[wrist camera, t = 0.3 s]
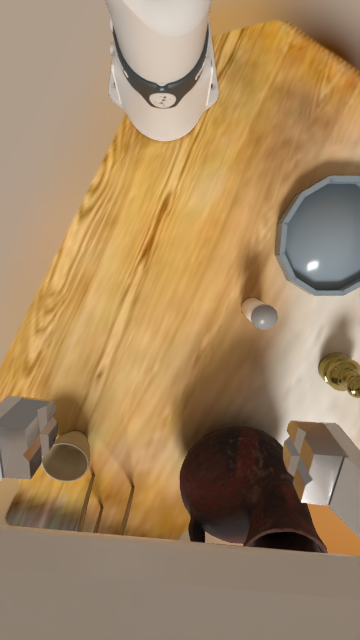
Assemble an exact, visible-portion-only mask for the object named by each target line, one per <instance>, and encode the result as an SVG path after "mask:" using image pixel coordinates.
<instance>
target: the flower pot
mask: <svg viewBox="0 0 360 640" xmlns="http://www.w3.org/2000/svg"><path fill="white" fill-rule="evenodd" d="M89 461H90V447H89V443H88V440H87V438H86V436H85V435H84V434H83V433H81V432H79V431H72V432H68V433H66V434H64V435H62V436H60V437H59V438H57V439H56V440H55V442H54V445H53V446H52V448H51V449H50V451H49V452H47V453H45V454H44V455H42V463H41V465H42V468H43V469H44V471H45V472H46V473H47V474H48V475H49V476H50V477H52V478H54V479H56V480H59V481H64V482H69V481H75V480H77V479H79V478H81V477H82V476H83V475H84V474H85V473H86V472H87V469H88V466H89Z"/></svg>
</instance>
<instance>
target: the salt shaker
mask: <svg viewBox="0 0 360 640" xmlns="http://www.w3.org/2000/svg"><path fill="white" fill-rule="evenodd" d="M319 374H320V376H321V378H322V379H323V380H324V381H325V382H326V383H328V384H329V385H330V386H331V387H332V388H334V389H335V390H338V391H348V393H349V394H350V395H351V396H353V397H356V398H360V365H359V363H357V362H356V361H354V360H352V359H351V358H349V357H347V356H346V355H344V354H341V353H332V354H329V355H328V356H326V357H325V358H324V359H323V360H322V361H321V363H320V365H319Z"/></svg>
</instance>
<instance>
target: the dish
mask: <svg viewBox="0 0 360 640" xmlns="http://www.w3.org/2000/svg"><path fill="white" fill-rule="evenodd" d="M275 256H276V258H277V260H278V263H279V265H280V267H281V269H282V271H283V273H284V276H285V278H286V280H288V281H289V282H291V283H292V284H294V285H296V286H297V287H299V288H300V289H302V290H304V291H305V292H307V293H309V294H311V295H315V296H343V295H346V294H347V293H349V292H351V291H353V290H355V289H357V288H359V287H360V176H337V175H331V176H329V177H327V178H324V179H322V180H321V181H319V182H317V183H316V184H314V185H312V186H311V187H309V188H307V189H305V190H304V191H302V192H300V193H299V194H297V195H295V197H294V198H293V200H292V201H291V203H290V205H289V206H288V208H287V209H286V211H285V212H284V214H283V216H282V217H281V219H280V220H279V222H278V224H277V234H276V246H275Z"/></svg>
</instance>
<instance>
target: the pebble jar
mask: <svg viewBox="0 0 360 640" xmlns="http://www.w3.org/2000/svg"><path fill="white" fill-rule="evenodd" d="M241 311H242V314H243V315H244V316H245V317H246V318H247V319H249V320H250V321H251V322H252V323H253V325H254V326H255V327H257V328H258V329H261V330H267V329H270V328H272V327H273V326H274V325H275V323H276V321H277V317H278V316H277V312H276V310H275V309H274V308H273V307H271V306H269V305H267V304H265V303H263V302H261V301H260V300H258V299H256V298H248V299H246V300H245V301H244V302H243V303H242V306H241Z"/></svg>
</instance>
